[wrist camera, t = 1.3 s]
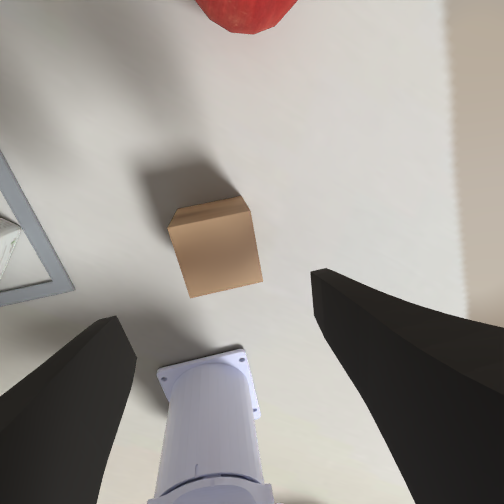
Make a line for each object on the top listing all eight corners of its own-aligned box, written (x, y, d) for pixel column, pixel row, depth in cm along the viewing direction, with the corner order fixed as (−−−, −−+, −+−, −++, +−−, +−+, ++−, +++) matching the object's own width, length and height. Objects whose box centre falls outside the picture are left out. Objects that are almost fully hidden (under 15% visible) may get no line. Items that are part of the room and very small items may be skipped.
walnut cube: (252, 252, 20) (263, 281, 15) (194, 265, 19) (190, 298, 15) (241, 195, 18) (250, 210, 14) (177, 208, 17) (167, 228, 13)
